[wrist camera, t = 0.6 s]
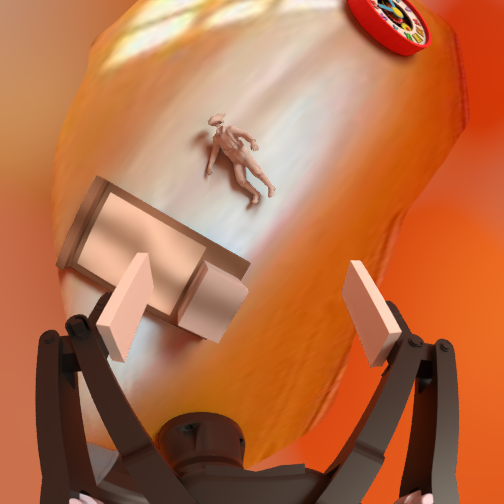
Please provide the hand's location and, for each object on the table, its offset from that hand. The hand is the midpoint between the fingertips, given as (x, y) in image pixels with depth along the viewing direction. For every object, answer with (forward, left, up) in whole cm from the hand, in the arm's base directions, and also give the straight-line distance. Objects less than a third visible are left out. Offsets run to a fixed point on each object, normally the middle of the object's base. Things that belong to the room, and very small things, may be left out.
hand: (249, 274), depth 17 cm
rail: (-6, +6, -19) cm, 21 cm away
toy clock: (+61, -5, -19) cm, 64 cm away
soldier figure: (+11, +3, -19) cm, 22 cm away
